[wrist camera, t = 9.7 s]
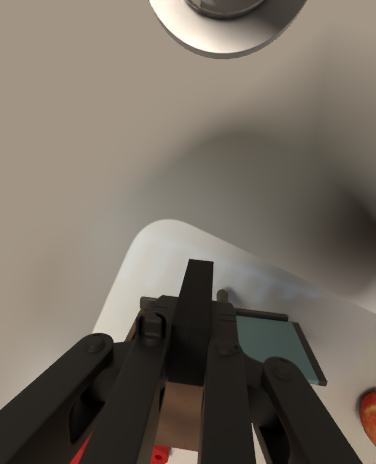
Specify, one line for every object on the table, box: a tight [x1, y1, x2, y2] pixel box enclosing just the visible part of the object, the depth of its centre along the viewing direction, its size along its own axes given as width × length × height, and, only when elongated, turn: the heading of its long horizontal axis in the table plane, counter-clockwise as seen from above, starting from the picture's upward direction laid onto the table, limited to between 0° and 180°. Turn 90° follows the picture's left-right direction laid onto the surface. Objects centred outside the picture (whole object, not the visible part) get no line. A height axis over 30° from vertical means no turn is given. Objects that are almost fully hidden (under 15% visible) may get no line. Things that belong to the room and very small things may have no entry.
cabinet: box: [124, 297, 288, 452], centre depth 39 cm, size 13×24×14 cm, turn 85°
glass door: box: [217, 289, 327, 386], centre depth 36 cm, size 6×15×11 cm, turn 85°
